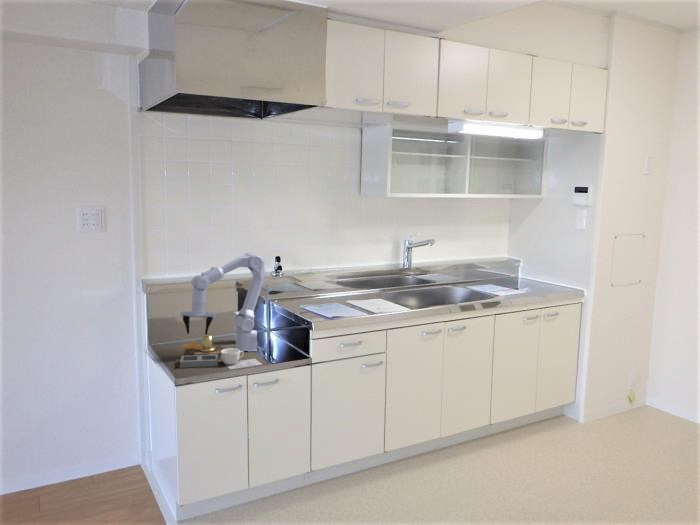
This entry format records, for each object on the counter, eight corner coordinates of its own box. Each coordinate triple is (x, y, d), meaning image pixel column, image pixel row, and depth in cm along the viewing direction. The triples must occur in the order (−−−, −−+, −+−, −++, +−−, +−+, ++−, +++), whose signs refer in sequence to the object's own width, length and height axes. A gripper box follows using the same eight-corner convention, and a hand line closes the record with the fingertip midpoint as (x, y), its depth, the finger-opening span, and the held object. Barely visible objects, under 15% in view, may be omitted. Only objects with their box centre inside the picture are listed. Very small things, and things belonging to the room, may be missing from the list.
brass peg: (216, 352, 257) (215, 333, 255) (215, 357, 250) (215, 337, 249) (199, 353, 255) (199, 333, 254) (199, 358, 248) (198, 338, 247)
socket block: (220, 351, 259) (220, 343, 258) (220, 358, 248) (220, 350, 248) (186, 352, 256) (185, 344, 255) (184, 360, 245) (184, 352, 245)
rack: (218, 359, 247) (218, 354, 247) (217, 366, 239) (217, 360, 238) (181, 361, 244) (181, 355, 243) (180, 367, 236) (180, 361, 235)
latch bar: (202, 346, 253) (202, 339, 252) (202, 348, 250) (201, 341, 250) (183, 347, 251) (183, 340, 251) (182, 348, 249) (182, 342, 248)
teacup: (225, 367, 238) (225, 354, 237) (217, 362, 244) (217, 349, 243) (247, 363, 244) (247, 350, 243) (239, 358, 250) (239, 346, 249)
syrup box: (236, 343, 271) (236, 313, 269) (233, 340, 277) (233, 311, 275) (248, 342, 274) (248, 313, 271) (245, 339, 279) (245, 310, 277)
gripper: (180, 303, 244) (178, 335, 245) (215, 305, 246) (213, 336, 248) (182, 300, 251) (180, 331, 252) (216, 302, 253) (214, 332, 255)
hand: (197, 333), depth 250 cm, fingers open, 7 cm apart
